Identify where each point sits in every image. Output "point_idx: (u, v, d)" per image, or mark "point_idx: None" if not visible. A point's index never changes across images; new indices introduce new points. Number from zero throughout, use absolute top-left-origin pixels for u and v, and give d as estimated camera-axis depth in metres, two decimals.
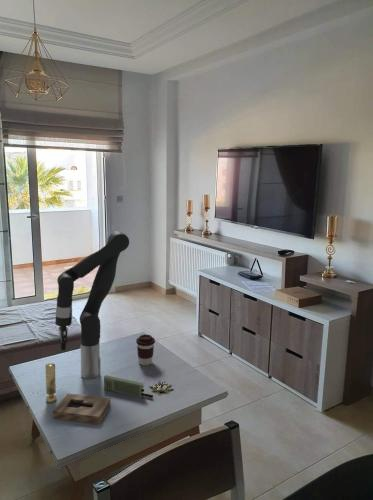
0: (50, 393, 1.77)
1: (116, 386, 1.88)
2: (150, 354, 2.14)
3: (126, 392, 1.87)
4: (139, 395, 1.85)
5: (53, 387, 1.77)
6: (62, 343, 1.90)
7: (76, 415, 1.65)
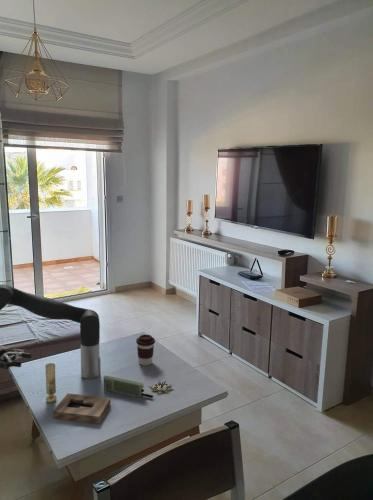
0: (50, 393, 1.77)
1: (116, 386, 1.88)
2: (150, 354, 2.14)
3: (126, 392, 1.87)
4: (139, 395, 1.85)
5: (53, 387, 1.77)
6: (10, 366, 1.73)
7: (76, 415, 1.65)
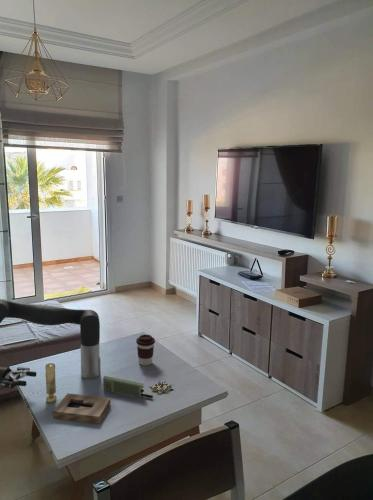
0: (50, 393, 1.77)
1: (116, 387, 1.88)
2: (150, 354, 2.14)
3: (126, 393, 1.86)
4: (139, 395, 1.84)
5: (53, 387, 1.77)
6: (16, 385, 1.75)
7: (76, 415, 1.65)
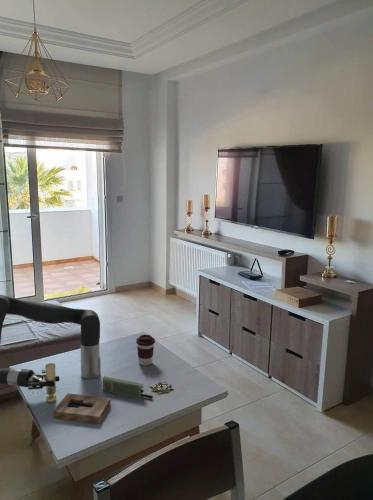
0: (50, 393, 1.77)
1: (115, 387, 1.87)
2: (150, 354, 2.14)
3: (125, 393, 1.86)
4: (139, 396, 1.84)
5: (53, 387, 1.77)
6: (44, 385, 1.75)
7: (76, 415, 1.65)
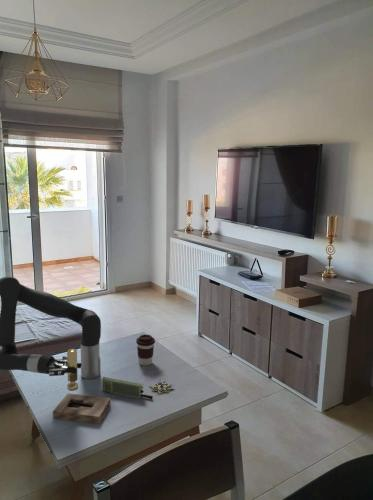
0: (72, 380, 1.69)
1: (115, 388, 1.87)
2: (150, 354, 2.14)
3: (125, 393, 1.86)
4: (138, 396, 1.84)
5: (75, 374, 1.69)
6: (66, 372, 1.66)
7: (76, 415, 1.65)
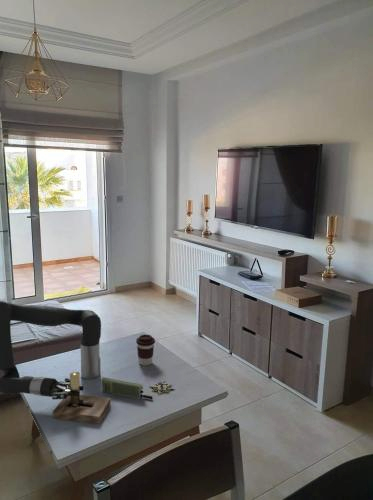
0: (74, 403, 1.70)
1: (115, 388, 1.86)
2: (150, 354, 2.14)
3: (125, 394, 1.85)
4: (138, 397, 1.84)
5: (77, 397, 1.70)
6: (69, 395, 1.68)
7: (76, 415, 1.65)
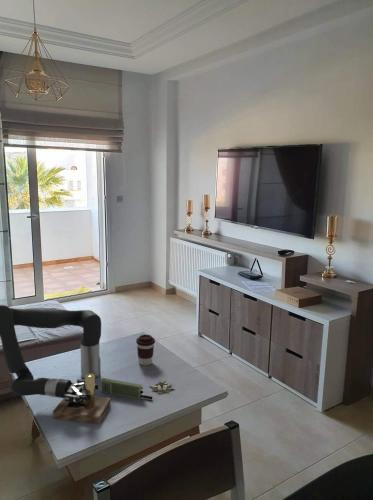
0: (89, 405, 1.69)
1: (114, 389, 1.86)
2: (150, 354, 2.14)
3: (125, 394, 1.85)
4: (138, 397, 1.83)
5: (93, 398, 1.70)
6: (80, 399, 1.65)
7: (76, 415, 1.65)
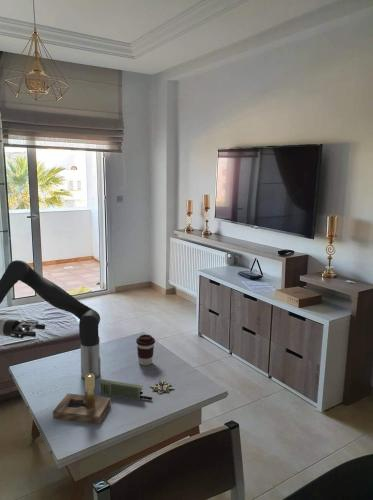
0: (89, 405, 1.69)
1: (114, 390, 1.85)
2: (150, 354, 2.14)
3: (124, 395, 1.84)
4: (138, 398, 1.83)
5: (93, 398, 1.70)
6: (25, 335, 1.77)
7: (76, 415, 1.65)
